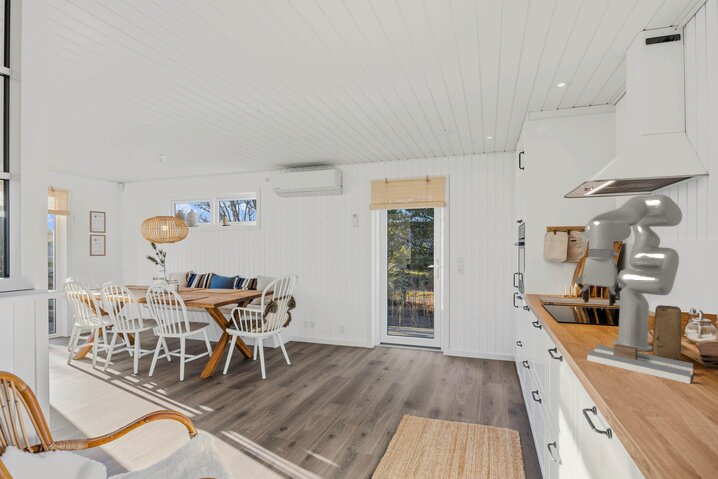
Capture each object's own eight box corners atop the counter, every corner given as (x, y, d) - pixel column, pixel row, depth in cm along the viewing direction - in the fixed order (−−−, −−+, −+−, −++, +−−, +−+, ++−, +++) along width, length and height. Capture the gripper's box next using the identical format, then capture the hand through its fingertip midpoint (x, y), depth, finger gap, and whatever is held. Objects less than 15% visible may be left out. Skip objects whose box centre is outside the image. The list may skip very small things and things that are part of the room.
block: (680, 369, 124) (683, 310, 124) (652, 364, 129) (654, 306, 128) (678, 361, 132) (681, 305, 132) (652, 356, 137) (654, 303, 137)
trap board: (596, 353, 139) (596, 344, 139) (692, 374, 120) (693, 363, 120) (587, 360, 130) (587, 350, 130) (689, 383, 111) (690, 372, 111)
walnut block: (616, 354, 131) (616, 343, 131) (637, 359, 127) (637, 347, 127) (613, 357, 128) (613, 346, 128) (634, 362, 123) (635, 350, 123)
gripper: (632, 255, 130) (630, 306, 130) (576, 253, 142) (574, 299, 142) (628, 256, 124) (626, 308, 124) (570, 253, 137) (568, 301, 137)
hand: (598, 303), depth 133 cm, fingers open, 7 cm apart
